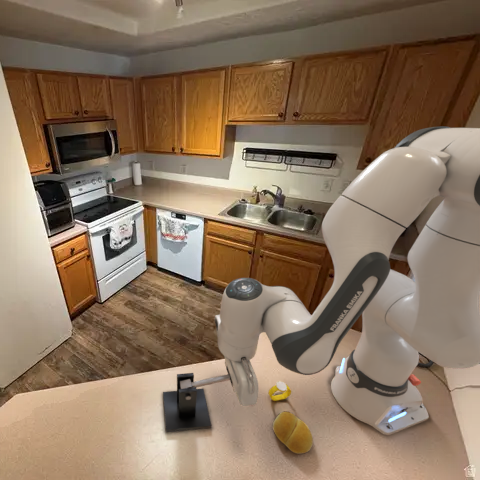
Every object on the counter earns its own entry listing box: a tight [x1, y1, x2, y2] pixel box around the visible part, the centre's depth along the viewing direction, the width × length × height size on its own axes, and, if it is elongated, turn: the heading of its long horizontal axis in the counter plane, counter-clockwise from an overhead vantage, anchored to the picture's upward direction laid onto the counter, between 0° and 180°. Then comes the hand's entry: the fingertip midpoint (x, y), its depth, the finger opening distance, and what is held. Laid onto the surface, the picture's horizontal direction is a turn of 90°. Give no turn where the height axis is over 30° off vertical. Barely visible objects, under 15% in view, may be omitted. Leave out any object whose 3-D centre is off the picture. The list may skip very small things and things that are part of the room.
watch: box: [268, 380, 292, 402], centre depth 73 cm, size 6×3×6 cm, turn 97°
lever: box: [180, 366, 233, 389], centre depth 67 cm, size 14×5×2 cm, turn 93°
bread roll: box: [271, 411, 314, 454], centre depth 65 cm, size 8×9×4 cm
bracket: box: [162, 372, 212, 433], centre depth 69 cm, size 12×10×13 cm
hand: (232, 377), depth 67 cm, fingers closed on lever, 5 cm apart
